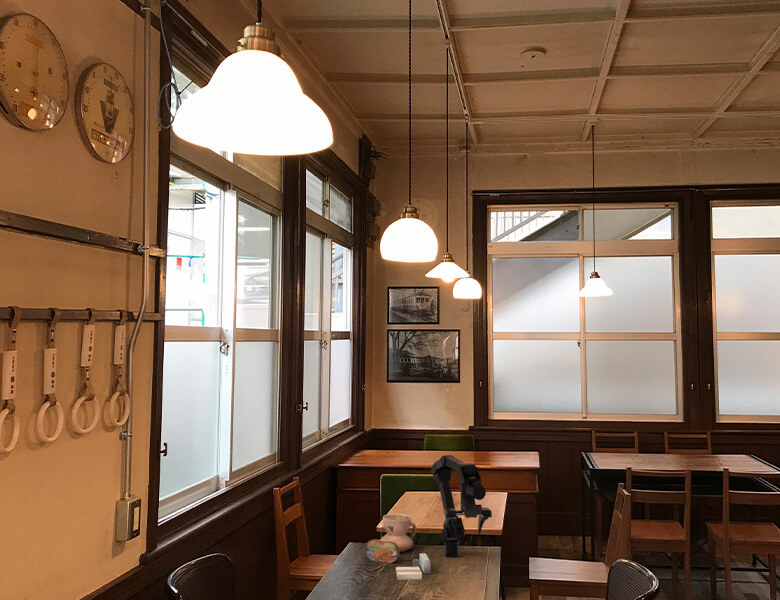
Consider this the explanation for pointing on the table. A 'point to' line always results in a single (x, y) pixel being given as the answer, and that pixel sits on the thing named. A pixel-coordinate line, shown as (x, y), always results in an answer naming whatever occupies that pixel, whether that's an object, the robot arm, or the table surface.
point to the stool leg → (425, 563)
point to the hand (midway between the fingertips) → (467, 534)
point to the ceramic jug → (398, 530)
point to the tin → (382, 551)
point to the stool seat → (408, 573)
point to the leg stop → (415, 563)
